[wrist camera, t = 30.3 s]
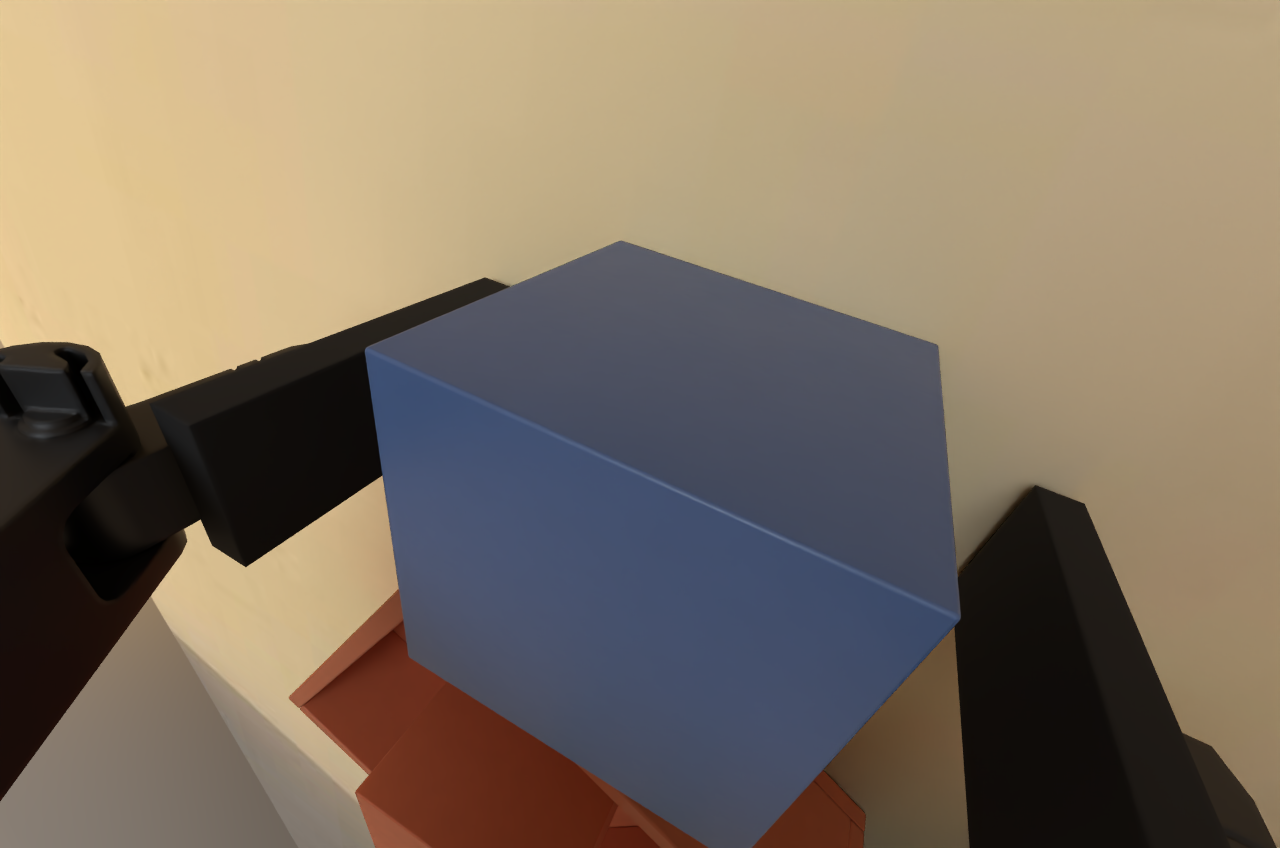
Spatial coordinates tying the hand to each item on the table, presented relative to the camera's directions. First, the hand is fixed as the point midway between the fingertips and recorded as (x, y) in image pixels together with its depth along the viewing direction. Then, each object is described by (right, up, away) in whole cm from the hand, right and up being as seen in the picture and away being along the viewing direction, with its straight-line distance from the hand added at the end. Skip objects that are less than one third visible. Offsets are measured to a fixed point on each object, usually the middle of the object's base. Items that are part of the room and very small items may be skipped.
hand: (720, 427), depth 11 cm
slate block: (0, 0, 0) cm, 0 cm away
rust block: (-4, -10, +8) cm, 14 cm away
